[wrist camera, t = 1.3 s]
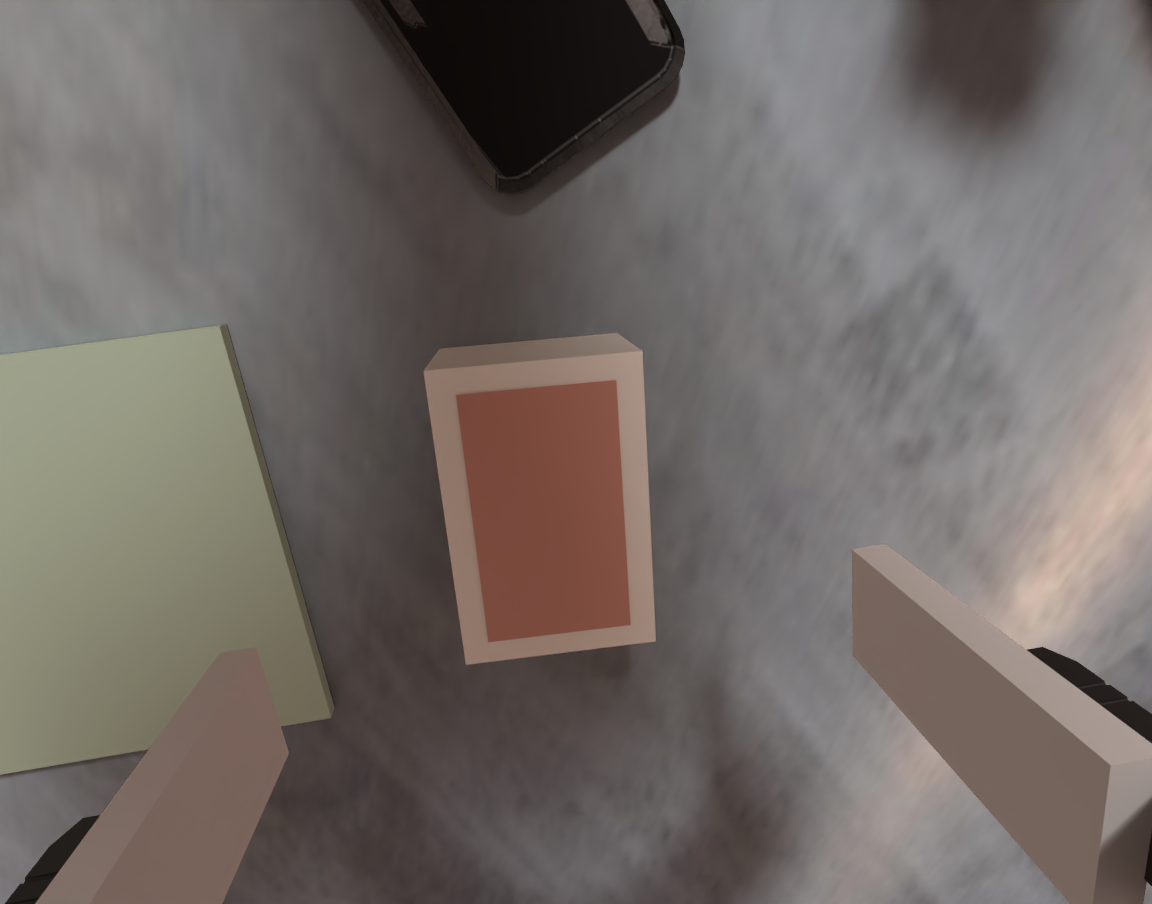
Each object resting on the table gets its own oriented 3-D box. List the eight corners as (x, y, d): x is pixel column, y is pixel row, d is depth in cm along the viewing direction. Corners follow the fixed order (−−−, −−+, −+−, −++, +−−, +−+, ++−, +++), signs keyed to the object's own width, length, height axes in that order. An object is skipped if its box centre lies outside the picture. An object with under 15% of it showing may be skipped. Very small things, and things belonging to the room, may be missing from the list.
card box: (439, 347, 24) (423, 371, 19) (616, 332, 25) (643, 351, 20) (473, 592, 27) (465, 666, 22) (630, 574, 27) (656, 642, 23)
